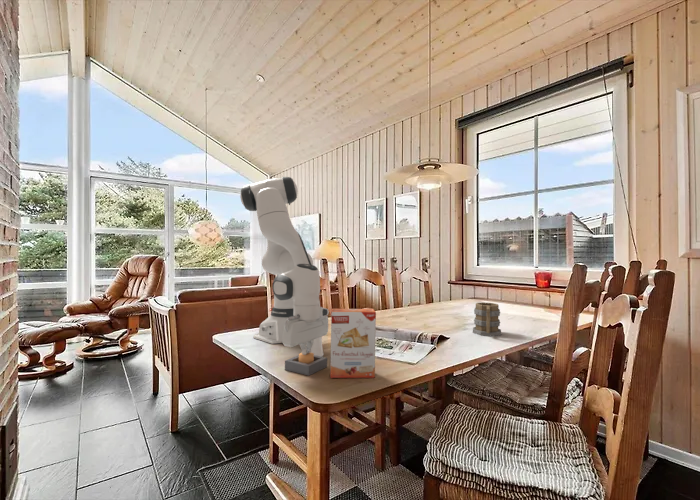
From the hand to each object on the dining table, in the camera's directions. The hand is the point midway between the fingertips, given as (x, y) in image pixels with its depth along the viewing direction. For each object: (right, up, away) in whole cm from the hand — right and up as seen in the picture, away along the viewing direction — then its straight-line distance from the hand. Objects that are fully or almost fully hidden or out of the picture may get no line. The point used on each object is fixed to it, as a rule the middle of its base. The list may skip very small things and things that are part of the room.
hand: (306, 353), depth 119 cm
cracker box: (+15, -5, -6) cm, 17 cm away
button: (0, -4, 0) cm, 4 cm away
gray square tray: (0, -5, 0) cm, 5 cm away
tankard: (+79, -5, +49) cm, 93 cm away
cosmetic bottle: (+2, -5, +14) cm, 15 cm away
